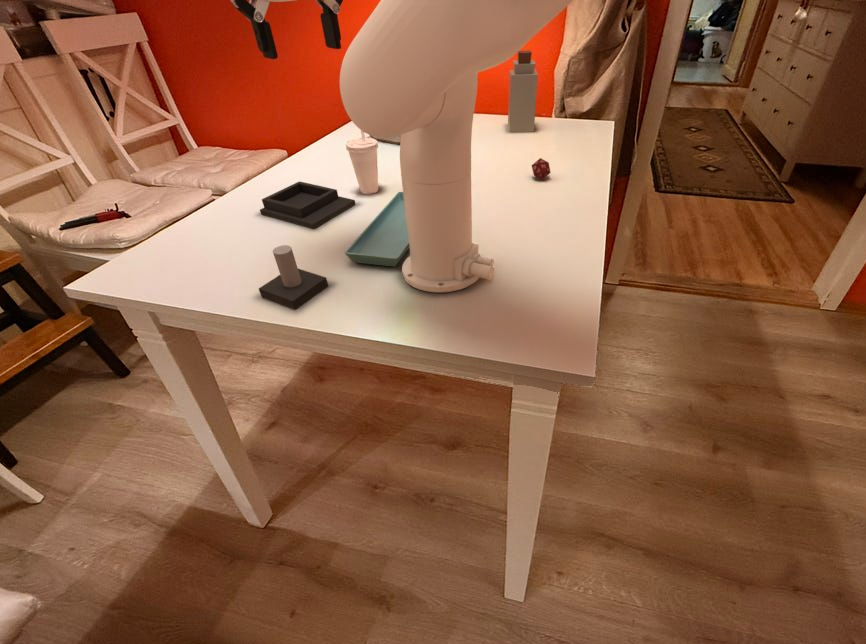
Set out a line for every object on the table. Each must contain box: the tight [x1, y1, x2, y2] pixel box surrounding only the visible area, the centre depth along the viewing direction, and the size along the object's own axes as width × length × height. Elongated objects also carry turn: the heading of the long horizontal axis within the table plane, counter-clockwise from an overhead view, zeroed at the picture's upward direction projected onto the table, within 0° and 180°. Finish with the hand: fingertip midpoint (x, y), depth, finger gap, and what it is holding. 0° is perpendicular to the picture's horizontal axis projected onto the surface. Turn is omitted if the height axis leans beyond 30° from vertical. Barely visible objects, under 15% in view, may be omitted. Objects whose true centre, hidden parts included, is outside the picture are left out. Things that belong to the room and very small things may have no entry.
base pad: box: [259, 181, 356, 230], centre depth 91 cm, size 14×12×3 cm
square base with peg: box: [258, 244, 329, 310], centre depth 67 cm, size 7×7×7 cm
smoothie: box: [345, 130, 379, 195], centre depth 93 cm, size 6×6×14 cm
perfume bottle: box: [507, 49, 539, 133], centre depth 122 cm, size 7×7×18 cm
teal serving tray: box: [344, 191, 410, 267], centre depth 82 cm, size 26×9×2 cm, turn 167°
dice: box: [531, 157, 551, 181], centre depth 99 cm, size 4×4×4 cm
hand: (303, 52), depth 64 cm, fingers open, 9 cm apart
